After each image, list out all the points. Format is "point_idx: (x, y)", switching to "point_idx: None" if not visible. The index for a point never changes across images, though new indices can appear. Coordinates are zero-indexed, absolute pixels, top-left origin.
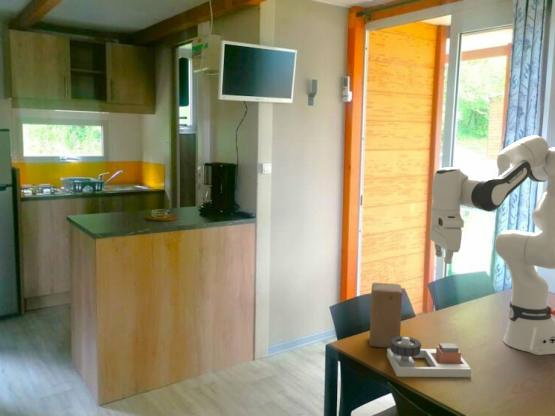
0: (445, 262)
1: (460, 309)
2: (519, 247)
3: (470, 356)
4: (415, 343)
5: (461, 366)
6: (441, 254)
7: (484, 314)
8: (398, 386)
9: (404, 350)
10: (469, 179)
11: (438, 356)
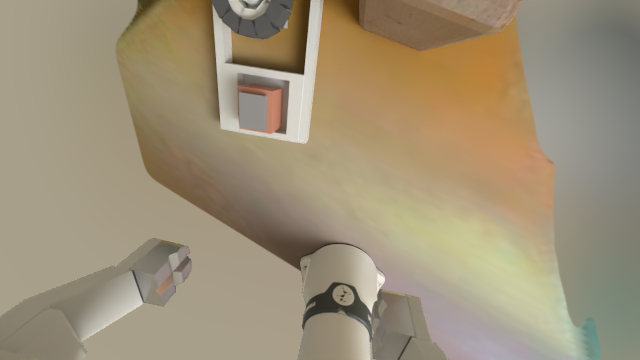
0: (149, 240)
1: (534, 269)
2: None
3: (306, 167)
4: (236, 17)
5: (228, 116)
6: (374, 328)
7: (484, 289)
8: None
9: None
10: None
11: (262, 87)
